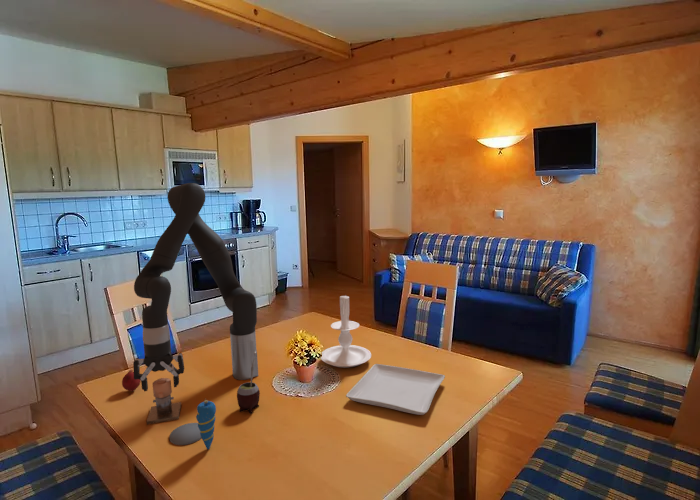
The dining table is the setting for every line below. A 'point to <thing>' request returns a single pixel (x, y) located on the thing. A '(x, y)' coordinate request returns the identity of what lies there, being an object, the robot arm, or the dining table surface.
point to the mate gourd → (248, 395)
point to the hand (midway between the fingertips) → (160, 388)
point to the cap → (162, 387)
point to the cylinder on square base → (164, 410)
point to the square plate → (397, 388)
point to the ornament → (206, 421)
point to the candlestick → (345, 342)
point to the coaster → (185, 434)
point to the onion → (130, 381)
